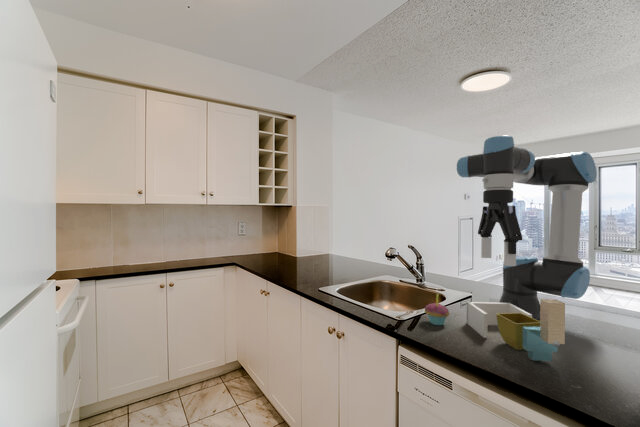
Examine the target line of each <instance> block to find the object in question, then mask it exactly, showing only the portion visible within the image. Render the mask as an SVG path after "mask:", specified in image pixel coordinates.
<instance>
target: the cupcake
mask: <svg viewBox="0 0 640 427" xmlns="http://www.w3.org/2000/svg"><path fill="white" fill-rule="evenodd" d="M449 312H450V311H449V309H448V308H447V306H445V305H444V304H441V303H439V293H438V292H437V294H436V302H432V303H429V304H427V305H426V306H424V313H425V314H427V317H428V319H429V323H430V324H431V325H435V326H443V325H444V324H445V321H446V319H447V318H448V316H449V315H450V313H449Z"/></svg>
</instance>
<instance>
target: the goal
mask: <svg viewBox="0 0 640 427" xmlns="http://www.w3.org/2000/svg"><path fill="white" fill-rule="evenodd" d="M499 313H522V314H524V315H527V316H529V317H531V318H532V315H531V314H530V313H528V312H526V311H524V310H522V309H520V308H518V307H516V306H515V305H513V304H511V303H499V301H498V302H494V301H493V302H491V301H490V302H489V301H488V302H487V301H486V302H485V301H484V302H483V301H466V324H467V325H469V327H471V328H472V329H473V330H474V331H475V332H476V333H477V334H479V335H480V336H481V337H482V338H484V339H485V338H486V339H487V338H488V326H498V323H497V316H496V314H499Z"/></svg>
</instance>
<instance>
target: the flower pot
mask: <svg viewBox="0 0 640 427" xmlns="http://www.w3.org/2000/svg"><path fill="white" fill-rule="evenodd" d="M496 316H497V323H498V325H497V328H498V331H499V335H500V336H501V337H502V340H503V341H504V342H505V344H507V345H508V346H510V347H512V348H513V349H515V350H517V351H526V350H525V349H524V348H523V327H540V320H539V319H533V318H531V317H529V316H527V315H524V314H522V313H499V314H496Z"/></svg>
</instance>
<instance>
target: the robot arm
mask: <svg viewBox="0 0 640 427" xmlns="http://www.w3.org/2000/svg"><path fill="white" fill-rule="evenodd" d="M456 162H457V163H456V171H457V175H458V176H460V177H461V178H476V177H477V178H482V182H483V189H484V191H483V192H482V193H483V194H482V196H483V199H482V201H483V203H484V204H488V206H482V213H481V218H480V222H479V227H478V230H477V234H478V235H479V236H480V238H481V247H480V248H481V249H480V250H481V252H480V253H481V254H480V255H481V256H480V258H481V259H492V246H493V244H492V242H493V241H492V240H493V238H492V237H493V236H492V232H493V230H494V229H495V226H496V224H497V223H498V225H499V226H500V228H501V231H502V233H503V236H504V238H505V239H504V240H503V242H504V244H503V263H502V264H503V266H502V294H501V296H500V299H499V301H498V303H511V304H513V305H515V306H516V307H518V308H520V309H522V310H524V311H526V312H528V313H530V314H531V315H532V318H533V319H536V320H540V301H539V299H538V293H544V294H547V295H548V294H549V295H552V296H557V297H561V298H565V299H567V298H568V299H574V300H577V299H580V298H582V297H583V296H584V295H585V294H586V292H587V291H588V289H589V285H590V280H591V273H590V269H589V268H587V267H585V266H584V262H583V261H582V260H581V259H580V258H579V249H580V234H581V219H582V205H583V203H582V202H583V193H585V191H587V190H589V185H590V184H592V183H595V182H596V179H597V175H598V174H597V166H596V163H595V160H594V157H593V156H592V154H590V153H589V152H587V151H579V152H578V151H577V152H575V151H572V152H570V153H569V152H568V153H561V154H555V155H547V156H539V157H535V154H534V153H533V152H532V151H530V150H527V149H526V148H523V147H516V146H515V141H514V138H513V136H512V135H497V136H496V135H495V136H491V137H488V138H486V139H485V140H484V142H483V152H482V153H480V154H473V155H467V156H462V157H460V158H459V159H458V160H457V161H456ZM514 183H516V184H524V185H531V186H547V187H548V188H547V189H548V190H549V191H550V192H551V193H552V198H551V211H550V225H549V237H548V238H549V239H548V251H547V254H545V255H544V256H543V257H542V261H539V259H538V257H536V256H535V257H534V256H517V243H518V242H519V241H522V240H523V236H522V231H521V227H520V224H519V220H518V217H517V214H516V213H517V212H516V210H517V209H516V206H515V205H509V204H512V203H513V202H514V191H513V190H512V189H514Z"/></svg>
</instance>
